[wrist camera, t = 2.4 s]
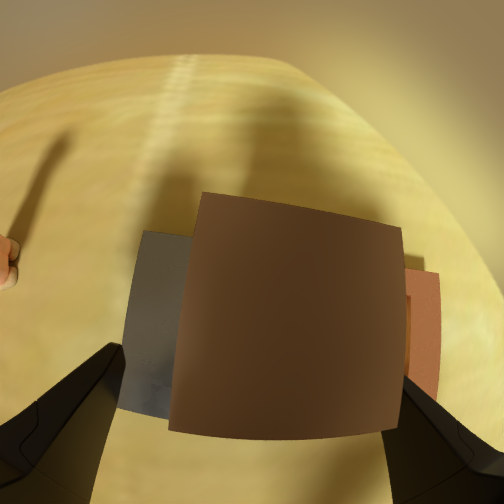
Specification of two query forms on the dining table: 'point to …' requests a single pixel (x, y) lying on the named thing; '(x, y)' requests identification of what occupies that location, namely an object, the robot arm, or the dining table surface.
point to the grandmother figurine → (3, 252)
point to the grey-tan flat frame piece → (168, 315)
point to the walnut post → (289, 324)
